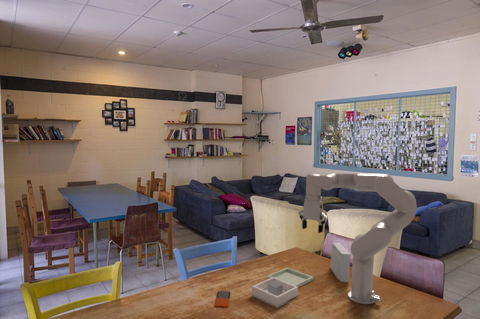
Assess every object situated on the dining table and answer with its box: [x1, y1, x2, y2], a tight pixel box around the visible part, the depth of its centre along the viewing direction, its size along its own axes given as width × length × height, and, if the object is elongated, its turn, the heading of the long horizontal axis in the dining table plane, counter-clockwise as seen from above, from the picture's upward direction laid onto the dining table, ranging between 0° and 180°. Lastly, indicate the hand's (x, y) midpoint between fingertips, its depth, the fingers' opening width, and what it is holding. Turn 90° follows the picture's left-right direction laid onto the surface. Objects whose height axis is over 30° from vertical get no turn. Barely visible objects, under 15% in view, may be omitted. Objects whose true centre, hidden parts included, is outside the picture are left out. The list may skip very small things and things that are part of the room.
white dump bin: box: [251, 277, 299, 309], centre depth 162 cm, size 16×16×5 cm
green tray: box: [266, 267, 314, 289], centre depth 180 cm, size 18×18×2 cm
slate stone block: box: [268, 282, 282, 296], centre depth 162 cm, size 5×5×5 cm
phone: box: [213, 290, 231, 308], centre depth 159 cm, size 6×1×15 cm
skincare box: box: [329, 242, 351, 283], centre depth 189 cm, size 21×6×16 cm, turn 179°
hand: (312, 230), depth 171 cm, fingers open, 9 cm apart
